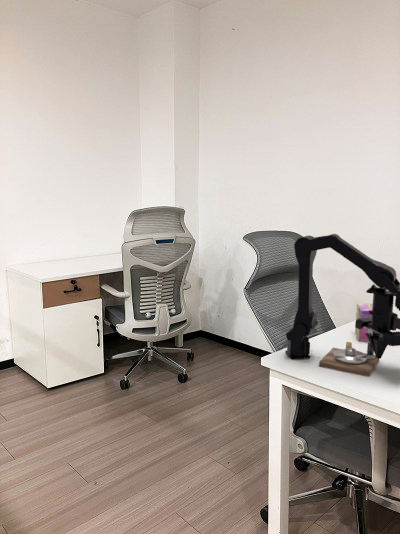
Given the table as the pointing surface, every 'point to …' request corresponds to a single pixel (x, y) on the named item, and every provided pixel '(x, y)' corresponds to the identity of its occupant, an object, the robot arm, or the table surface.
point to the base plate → (358, 369)
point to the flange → (354, 355)
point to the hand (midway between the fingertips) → (378, 358)
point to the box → (361, 313)
